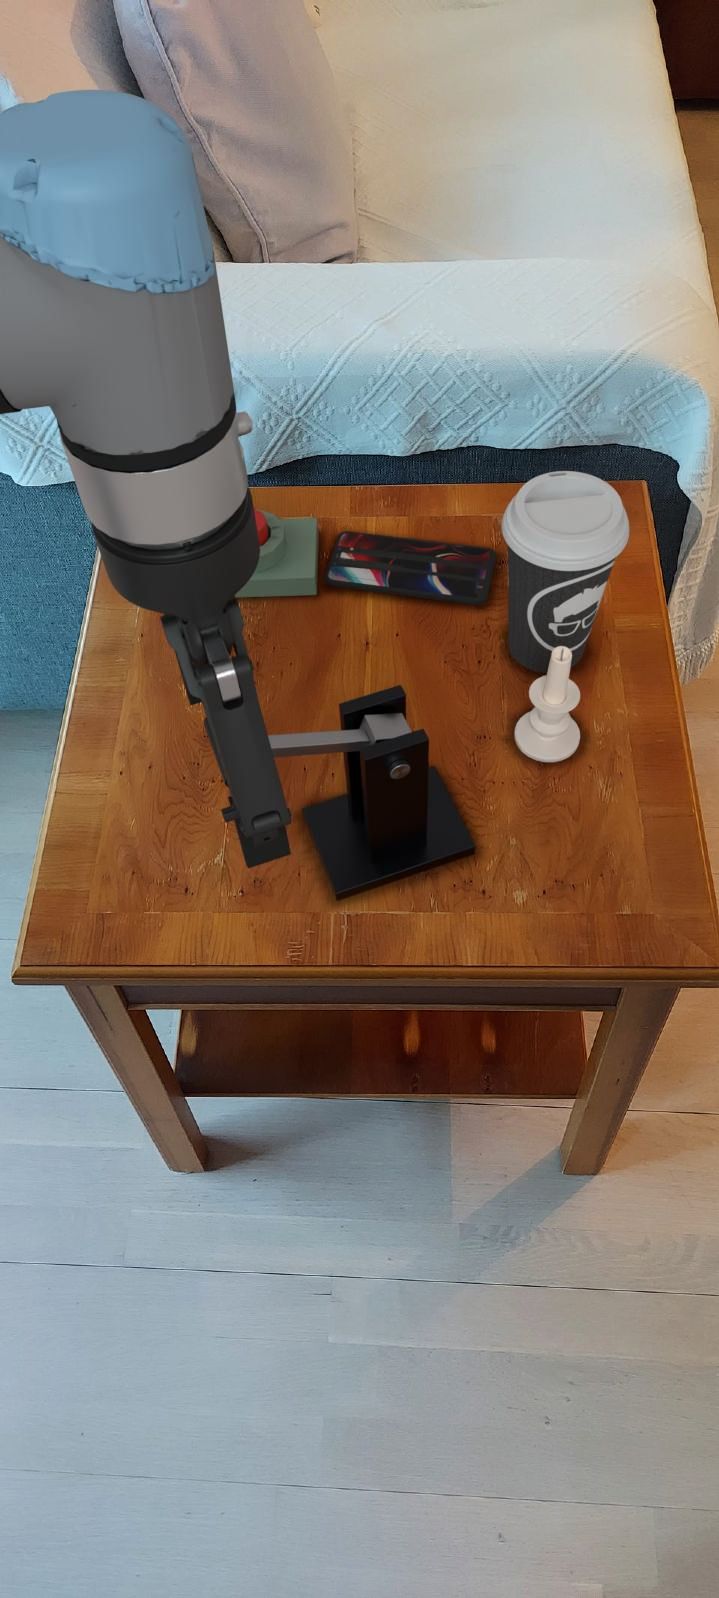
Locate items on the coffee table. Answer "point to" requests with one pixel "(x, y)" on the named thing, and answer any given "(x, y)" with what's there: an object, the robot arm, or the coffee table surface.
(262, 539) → the button
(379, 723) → the lever
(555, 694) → the candle
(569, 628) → the coffee cup
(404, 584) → the smartphone
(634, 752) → the coffee table surface
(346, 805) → the bracket
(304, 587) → the button box
